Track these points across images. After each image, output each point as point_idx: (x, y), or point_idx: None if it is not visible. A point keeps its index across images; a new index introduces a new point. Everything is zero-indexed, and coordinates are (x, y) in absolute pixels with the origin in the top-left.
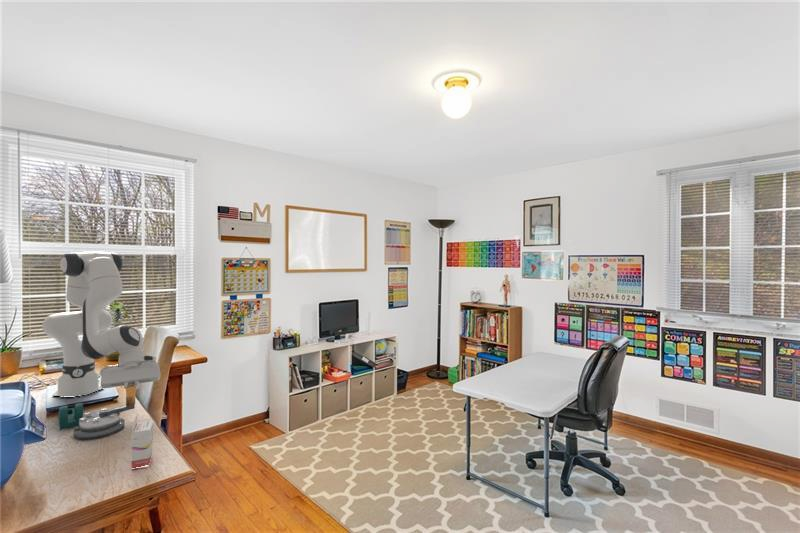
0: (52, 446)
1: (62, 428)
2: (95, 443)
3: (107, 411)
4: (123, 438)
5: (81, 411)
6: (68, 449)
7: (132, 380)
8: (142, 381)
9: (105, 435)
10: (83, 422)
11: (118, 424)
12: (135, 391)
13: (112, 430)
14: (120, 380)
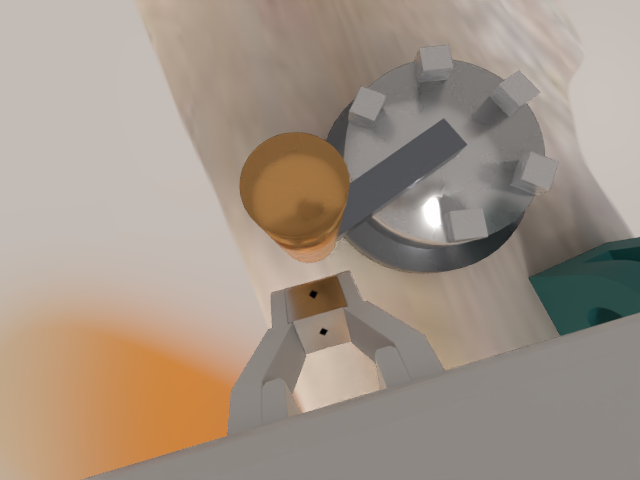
0: (534, 75)
1: (605, 246)
2: (382, 58)
3: (418, 143)
4: (291, 73)
5: (609, 273)
6: (459, 34)
7: (324, 407)
8: None
9: None
10: (497, 84)
11: (341, 156)
12: (278, 292)
13: (348, 107)
14: (532, 375)
